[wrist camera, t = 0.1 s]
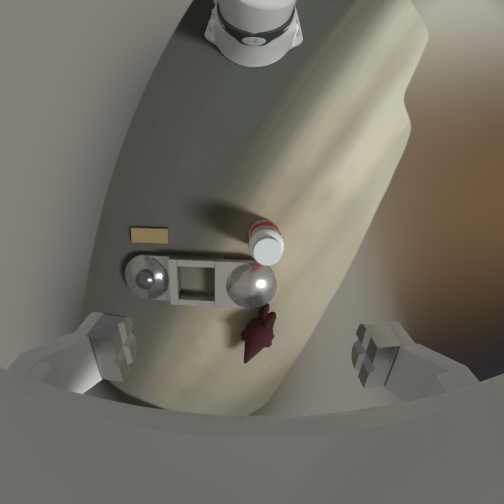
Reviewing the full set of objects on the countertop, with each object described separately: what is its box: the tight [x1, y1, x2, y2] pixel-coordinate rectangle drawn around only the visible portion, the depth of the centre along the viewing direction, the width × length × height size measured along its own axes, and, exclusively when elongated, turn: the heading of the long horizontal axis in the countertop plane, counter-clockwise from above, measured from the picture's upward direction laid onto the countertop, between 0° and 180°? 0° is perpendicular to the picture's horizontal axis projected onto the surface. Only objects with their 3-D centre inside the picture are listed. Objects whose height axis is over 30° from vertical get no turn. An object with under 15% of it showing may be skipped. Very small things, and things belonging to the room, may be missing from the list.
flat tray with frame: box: [125, 253, 276, 308], centre depth 60 cm, size 32×10×3 cm, turn 87°
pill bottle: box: [248, 220, 284, 266], centre depth 53 cm, size 6×6×11 cm
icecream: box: [241, 303, 276, 363], centre depth 62 cm, size 7×7×15 cm
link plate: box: [131, 227, 169, 244], centre depth 58 cm, size 8×3×1 cm, turn 87°
